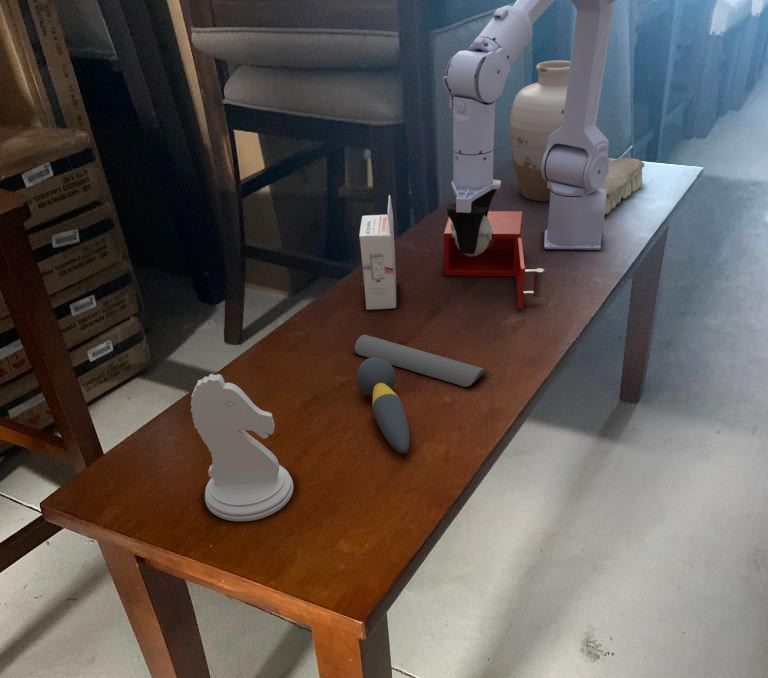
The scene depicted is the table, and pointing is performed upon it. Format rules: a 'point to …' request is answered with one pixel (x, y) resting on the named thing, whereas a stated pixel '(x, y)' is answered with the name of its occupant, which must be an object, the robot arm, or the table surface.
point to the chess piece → (238, 453)
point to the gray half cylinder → (419, 361)
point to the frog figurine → (483, 236)
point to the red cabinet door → (521, 275)
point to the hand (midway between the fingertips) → (471, 244)
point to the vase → (537, 125)
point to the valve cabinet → (496, 255)
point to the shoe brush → (621, 180)
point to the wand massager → (385, 401)
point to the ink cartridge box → (378, 260)
